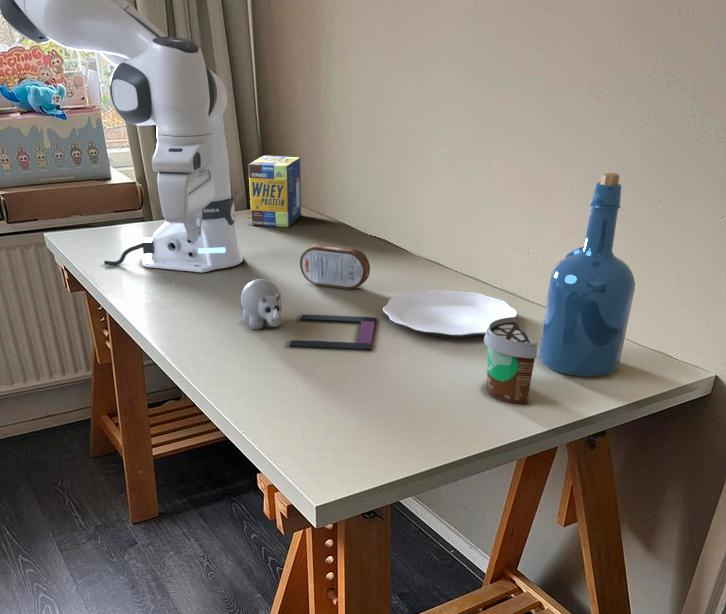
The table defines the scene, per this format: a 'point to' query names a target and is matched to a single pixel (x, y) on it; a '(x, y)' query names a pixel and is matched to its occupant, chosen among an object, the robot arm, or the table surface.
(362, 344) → the u-shaped frame
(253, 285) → the toy rhinoceros
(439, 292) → the plate
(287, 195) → the protein box
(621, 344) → the wine bottle
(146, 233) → the table surface
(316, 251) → the tin
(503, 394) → the food container
